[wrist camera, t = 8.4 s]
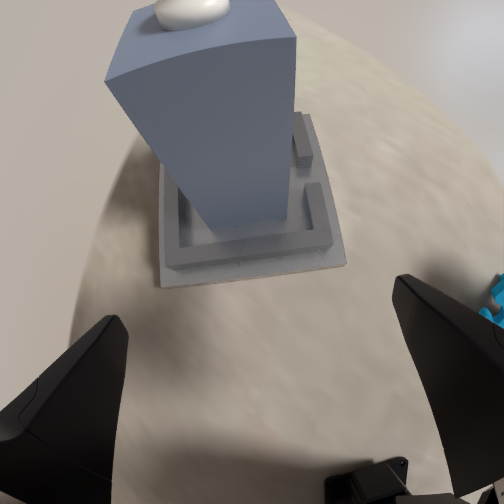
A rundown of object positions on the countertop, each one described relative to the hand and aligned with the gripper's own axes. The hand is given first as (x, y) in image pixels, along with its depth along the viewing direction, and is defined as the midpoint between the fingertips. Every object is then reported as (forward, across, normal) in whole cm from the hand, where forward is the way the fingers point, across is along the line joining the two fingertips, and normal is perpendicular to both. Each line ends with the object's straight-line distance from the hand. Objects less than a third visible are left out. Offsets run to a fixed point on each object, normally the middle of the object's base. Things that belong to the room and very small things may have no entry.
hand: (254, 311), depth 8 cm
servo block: (+12, 0, 0) cm, 12 cm away
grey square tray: (+13, 0, +1) cm, 13 cm away
